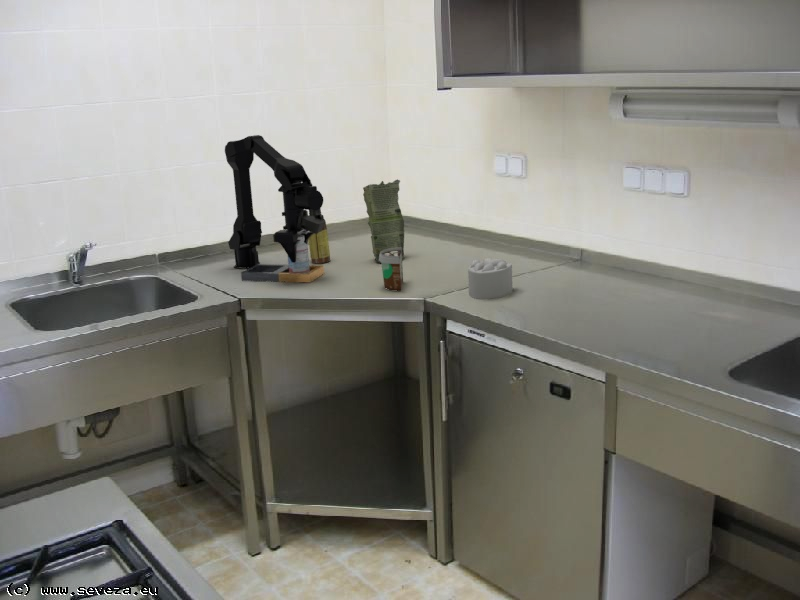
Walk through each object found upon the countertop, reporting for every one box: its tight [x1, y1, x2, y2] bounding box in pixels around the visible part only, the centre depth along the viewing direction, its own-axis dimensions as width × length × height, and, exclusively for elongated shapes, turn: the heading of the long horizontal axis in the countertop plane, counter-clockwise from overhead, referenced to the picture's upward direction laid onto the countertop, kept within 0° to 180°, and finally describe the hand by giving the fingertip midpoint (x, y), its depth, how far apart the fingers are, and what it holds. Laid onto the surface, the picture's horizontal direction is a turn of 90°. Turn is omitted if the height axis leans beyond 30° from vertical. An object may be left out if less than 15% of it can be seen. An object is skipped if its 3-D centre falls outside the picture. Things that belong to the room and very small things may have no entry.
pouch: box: [362, 178, 405, 264], centre depth 265 cm, size 11×12×25 cm
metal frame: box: [240, 263, 325, 283], centre depth 253 cm, size 22×11×2 cm, turn 72°
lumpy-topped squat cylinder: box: [467, 257, 513, 300], centre depth 223 cm, size 10×13×9 cm
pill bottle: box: [287, 235, 310, 273], centre depth 249 cm, size 6×6×11 cm
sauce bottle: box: [308, 208, 331, 264], centre depth 267 cm, size 7×6×20 cm
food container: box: [379, 247, 404, 292], centre depth 234 cm, size 12×6×10 cm, turn 177°
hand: (298, 259), depth 250 cm, fingers closed on pill bottle, 6 cm apart
